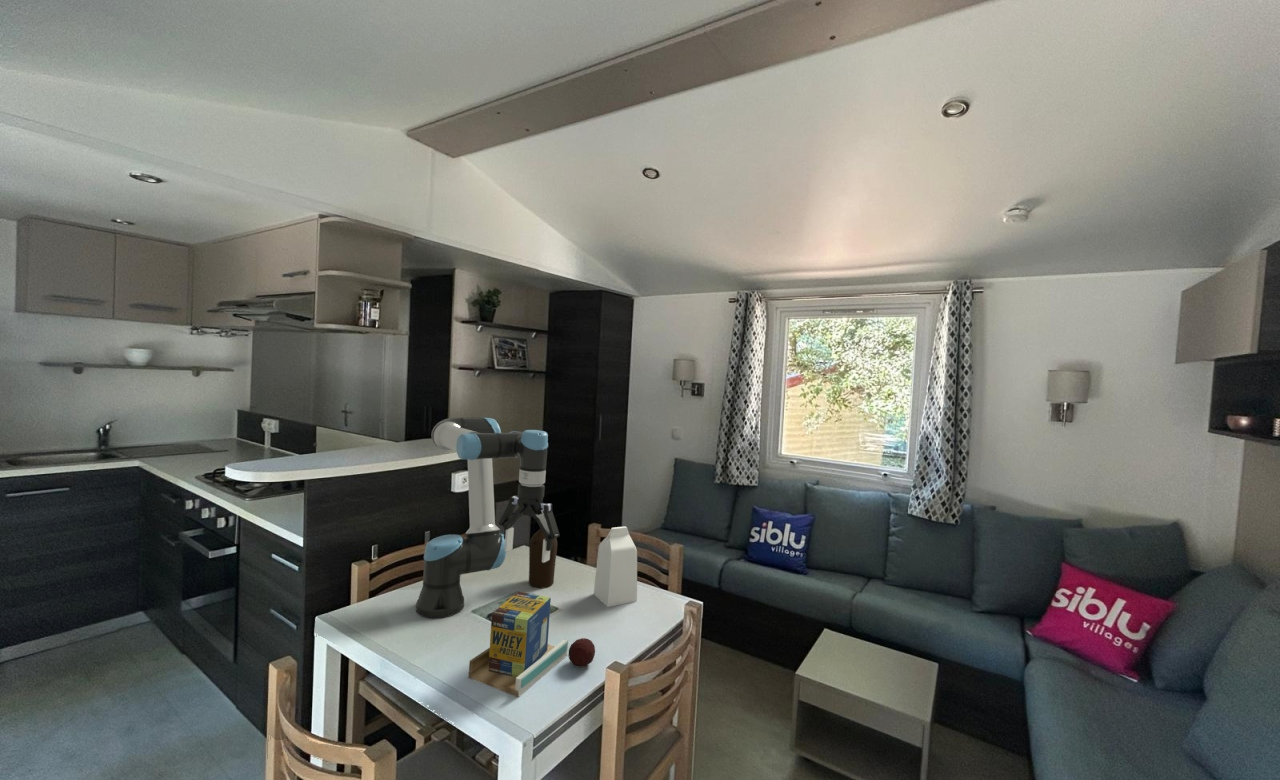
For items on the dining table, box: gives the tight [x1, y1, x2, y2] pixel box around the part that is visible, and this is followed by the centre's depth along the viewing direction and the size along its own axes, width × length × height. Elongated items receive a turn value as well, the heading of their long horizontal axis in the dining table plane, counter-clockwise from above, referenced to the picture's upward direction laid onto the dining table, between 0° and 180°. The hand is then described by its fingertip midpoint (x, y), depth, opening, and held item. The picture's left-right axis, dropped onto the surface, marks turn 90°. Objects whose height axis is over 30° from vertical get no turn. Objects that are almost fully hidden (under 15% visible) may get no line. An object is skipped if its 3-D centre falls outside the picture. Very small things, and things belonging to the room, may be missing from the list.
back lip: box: [468, 647, 490, 678], centre depth 141 cm, size 1×22×4 cm, turn 156°
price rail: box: [515, 638, 569, 698], centre depth 135 cm, size 1×22×4 cm, turn 155°
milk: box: [593, 526, 638, 608], centre depth 186 cm, size 12×12×26 cm
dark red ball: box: [567, 637, 596, 668], centre depth 141 cm, size 7×8×7 cm
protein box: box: [488, 591, 552, 677], centre depth 138 cm, size 10×15×16 cm
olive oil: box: [528, 527, 558, 589], centre depth 194 cm, size 11×11×25 cm
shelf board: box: [467, 643, 556, 698], centre depth 138 cm, size 16×22×2 cm
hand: (526, 555), depth 147 cm, fingers open, 13 cm apart
